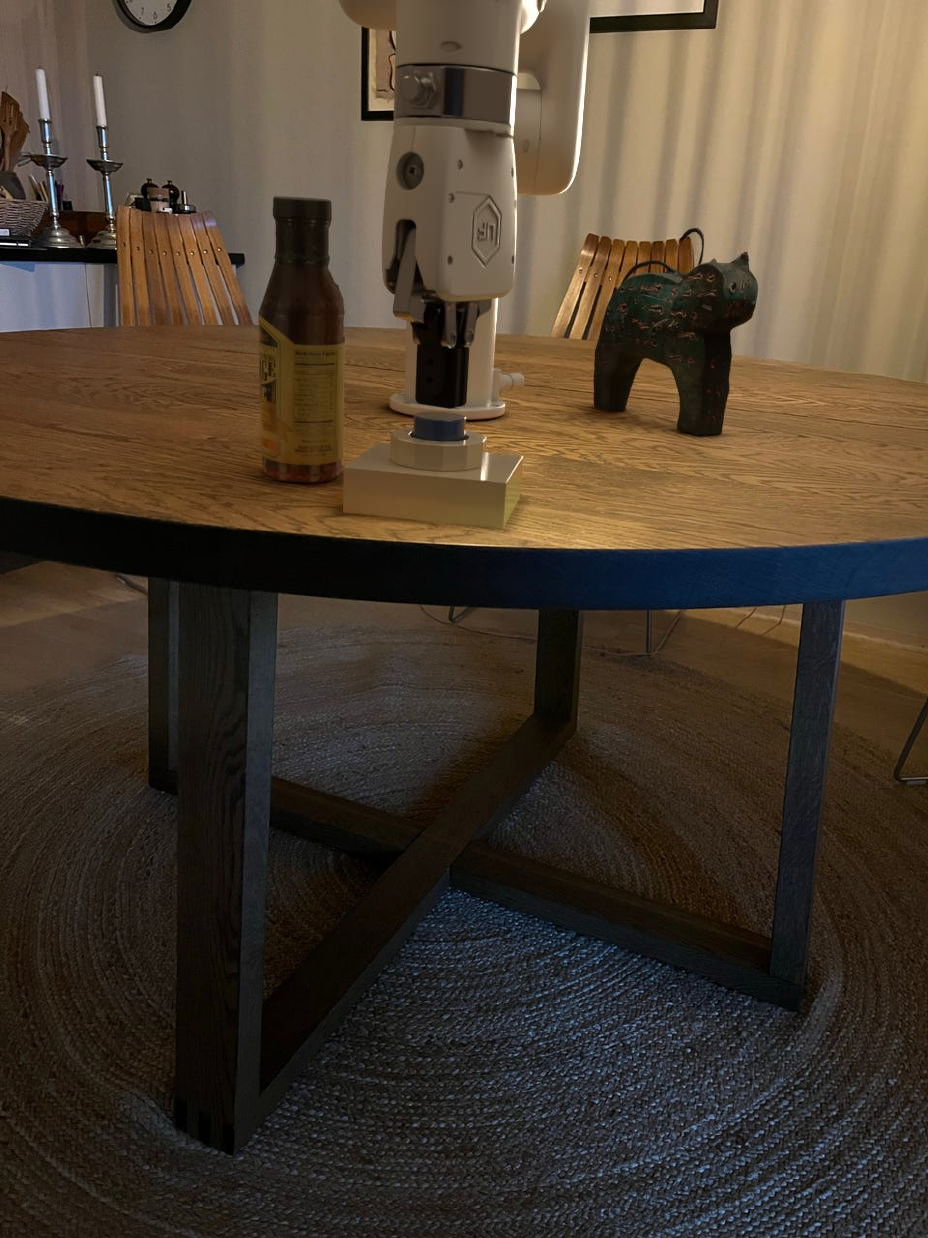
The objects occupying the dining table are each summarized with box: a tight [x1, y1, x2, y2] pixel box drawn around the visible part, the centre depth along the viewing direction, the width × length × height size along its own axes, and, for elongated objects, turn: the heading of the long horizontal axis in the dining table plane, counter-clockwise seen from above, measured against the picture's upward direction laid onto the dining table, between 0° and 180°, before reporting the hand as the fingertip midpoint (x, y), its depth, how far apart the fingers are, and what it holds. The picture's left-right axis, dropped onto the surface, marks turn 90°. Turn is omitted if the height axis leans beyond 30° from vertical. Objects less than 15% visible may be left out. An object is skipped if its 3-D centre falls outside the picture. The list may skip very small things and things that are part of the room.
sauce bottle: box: [257, 195, 346, 484], centre depth 73 cm, size 6×6×20 cm
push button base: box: [342, 426, 524, 530], centre depth 70 cm, size 9×11×5 cm
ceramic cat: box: [592, 227, 759, 437], centre depth 106 cm, size 20×6×20 cm, turn 32°
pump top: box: [412, 411, 467, 442], centre depth 69 cm, size 4×4×2 cm
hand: (440, 404), depth 69 cm, fingers closed
